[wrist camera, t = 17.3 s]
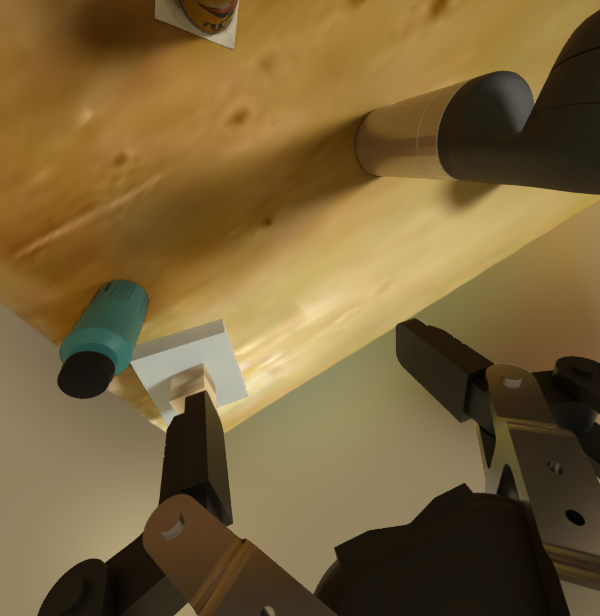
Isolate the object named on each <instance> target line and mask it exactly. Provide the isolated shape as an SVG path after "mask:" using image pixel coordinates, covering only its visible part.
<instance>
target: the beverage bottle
mask: <svg viewBox="0 0 600 616" xmlns="http://www.w3.org/2000/svg"><path fill="white" fill-rule="evenodd" d="M105 284H106V285H104V286H103V287H102V288H101V287H100V288H101V290H100V289H99V290H100V291H99V290H98V291H99V292H98V294H97V293H96V294H97V295H96V294H95V295H96V296H95V297H94V298H93V300H92V302H91V303H90V305H89V306H88V307H87V306H86V307H87V309H86V308H85V309H86V310H85V309H84V311H85V312H84V313H83V312H82V316H81V317H80V319H79V320H78V322H77V323H76V325H75V326H73V327H74V328H73V329H72V331H71V332H70V333H69V335H68V336H67V337H66V338H65V339H64V340H63V342H62V344H61V346H60V352H59V353H60V359H61V361H62V363H63V366H62V369H61V371H60V373H59V375H58V380H57V382H58V386H59V388H60V389H61V390H62V391H63V392H64V393H65V394H67V395H69V396H71V397H75V398H80V399H87V398H92V397H95V396H98V395H100V394H101V393H103V392H104V391H105V390H106V389H107V387H108V385H109V383H110V382H111V381H112V379H113V377H114V376H116V375H118V374H120V373H122V372H123V371H124V370H125V369H126V368H127V367H128V366H129V364H130V362H131V359H132V354H133V351H134V348H135V345H136V342H137V339H138V336H139V334H140V333H141V332H140V331H141V329H142V324H143V322H145V321H144V318H145V315H146V312H148V311H147V310H148V309H147V308H148V305H149V304H148V301H149V300H148V297H147V294H146V293H145V291H144V290H143V289H142V288H141V287H140V286H139V285H138V284H136V283H134V282H131V281H127V280H116V281H114V280H113V281H112V282H109V283H105ZM77 319H78V318H77ZM140 335H141V334H140ZM139 337H140V336H139Z"/></svg>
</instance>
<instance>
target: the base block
mask: <svg viewBox="0 0 600 616" xmlns="http://www.w3.org/2000/svg"><path fill="white" fill-rule="evenodd" d="M130 363H131V365H132V367H133V368H134V370H135V372H136V374H137V375H138V377H139V379H140V380H141V382H142V384H143V385H144V387H145V389H146V391H147V392H148V394H149V396H150V397H151V399H152V401H153V403H154V404H155V406H156V408H157V409H158V411H159V413H160V415H161V416H162V418H163V420H164V421H165V423H166V425H167V426H168V425H170V423H171V421H172V419H173V417H174V416H176V415H178V414H177V413H176V411H175V410H174V409H173V407H172V406H171V404H170V403H169V398H170V389H171V380H172V375H173V374H176V373H179V372H181V371H184V370H186V369H189V368H191V367H194V366H197V365H199V364H202V363H204V365H205V367H206V369H207V371H208V372H209V374H210V376H211V378H212V380H213V382H214V384H215V388H216V399H217V408H218V407H221V406H223V405H226V404H229V403H232V402H234V401H237V400H240V399H243V398H246V397H248V395H247V391H246V386H245V382H244V379H243V376H242V373H241V370H240V367H239V364H238V362H237V359H236V356H235V353H234V350H233V347H232V345H231V342H230V339H229V336H228V333H227V331H226V328H225V325H224V322H223V319H220V320H217V321H214V322H210V323H207V324H204V325H201V326H197V327H194V328H191V329H187V330H184V331H181V332H177V333H174V334H171V335H168V336H164V337H161V338H158V339H154V340H151V341H148V342H145V343H141V344H138V345H135V348H134V351H133V354H132V359H131V362H130Z"/></svg>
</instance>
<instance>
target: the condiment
mask: <svg viewBox="0 0 600 616" xmlns="http://www.w3.org/2000/svg"><path fill="white" fill-rule="evenodd" d="M176 1H177V2H178V4H179V5H180V8H179V6H178V4H177V3H176V2H175V0H155V19H158V20H160V21H163V22H166V23H168V24H170V25H173V26H176V27H178V28H181V29H183V30H186V31H188V32H191V33H193V34H195V35H197V36H200V37H202V38H205V39H208V40H210V41H213V42H215V43H217V44H220V45H223V46H225V47H228V48H230V49H234V43H235V34H236V24H237V15H238V6H239V0H176Z"/></svg>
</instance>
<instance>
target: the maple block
mask: <svg viewBox="0 0 600 616" xmlns="http://www.w3.org/2000/svg"><path fill="white" fill-rule="evenodd" d="M204 390H207V392H208V393H209V396H210V398H211V400H212V402H213V405H214V407H215V409H216V411H217V399H216V388H215V384H214V382H213V380H212V378H211V376H210V374H209V372H208V371H207V369H206V367H205V365H204V363H202V364H199V365H197V366H194V367H191V368H189V369H186V370H184V371H181V372H179V373H176V374H173V375H172V380H171V389H170V398H169V403H170V404H171V406H172V407H173V409H174V410H175V411H176V413H177V414H178V415H179V414H182V413H184V409H185V398H186V397H187V396H190V395H193V394H196V393H198V392H201V391H204Z"/></svg>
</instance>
